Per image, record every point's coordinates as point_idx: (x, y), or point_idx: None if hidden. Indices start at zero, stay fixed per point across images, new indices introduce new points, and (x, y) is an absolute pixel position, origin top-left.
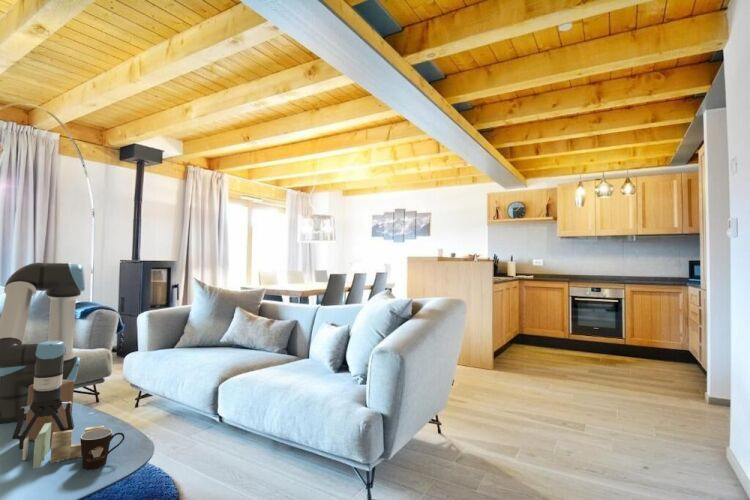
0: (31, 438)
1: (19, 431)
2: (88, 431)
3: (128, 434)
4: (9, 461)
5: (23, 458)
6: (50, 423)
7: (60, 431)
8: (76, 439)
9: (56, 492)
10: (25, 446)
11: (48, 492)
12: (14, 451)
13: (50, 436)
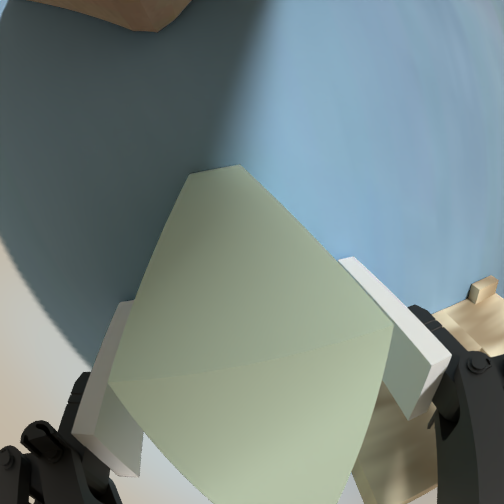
0: (34, 1)
1: (24, 501)
2: None
3: None
4: (69, 329)
5: None
6: (360, 408)
7: (425, 490)
8: (390, 44)
9: (351, 472)
10: (139, 428)
11: None
12: (4, 177)
13: (260, 186)
